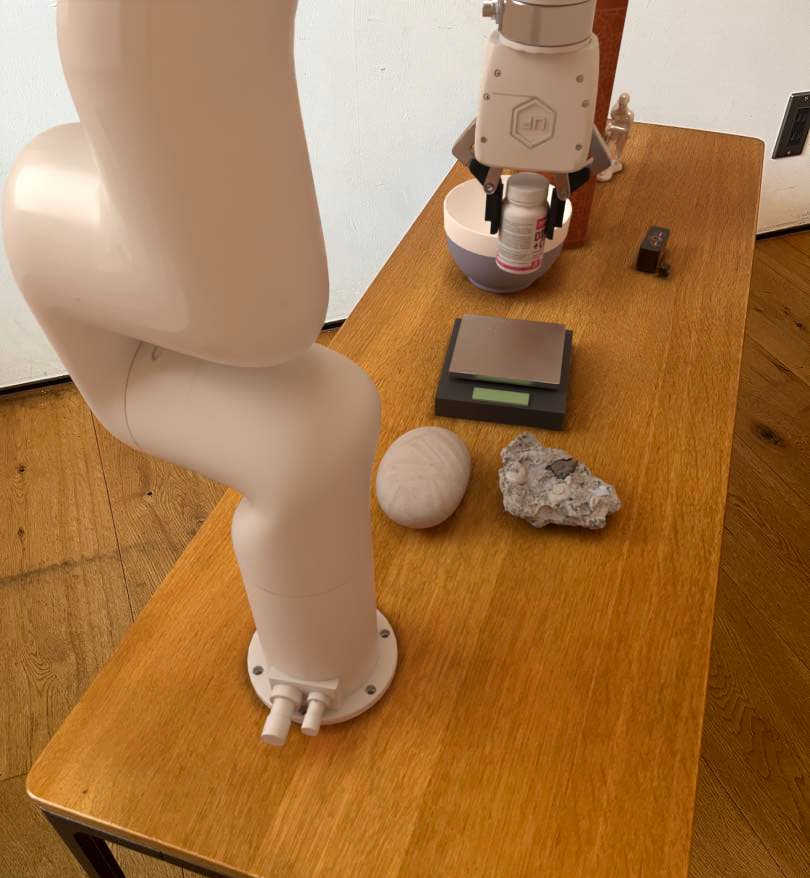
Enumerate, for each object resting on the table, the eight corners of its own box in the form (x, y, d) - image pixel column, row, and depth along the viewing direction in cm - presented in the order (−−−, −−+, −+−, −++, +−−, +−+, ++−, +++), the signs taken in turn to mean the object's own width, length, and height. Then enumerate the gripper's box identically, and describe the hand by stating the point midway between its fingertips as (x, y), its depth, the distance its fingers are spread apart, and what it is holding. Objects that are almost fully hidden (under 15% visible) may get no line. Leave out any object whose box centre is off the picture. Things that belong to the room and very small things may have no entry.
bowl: (547, 318, 98) (557, 247, 91) (425, 295, 102) (426, 225, 94) (571, 253, 108) (583, 184, 100) (460, 235, 111) (463, 167, 104)
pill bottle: (540, 278, 78) (551, 195, 72) (492, 273, 79) (499, 191, 72) (544, 253, 81) (555, 171, 75) (498, 248, 82) (505, 167, 75)
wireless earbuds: (632, 273, 105) (637, 250, 102) (645, 247, 109) (651, 225, 106) (666, 281, 103) (673, 258, 101) (679, 254, 107) (685, 232, 105)
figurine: (628, 164, 125) (645, 82, 115) (614, 190, 119) (631, 106, 110) (599, 159, 126) (613, 78, 117) (584, 185, 120) (598, 101, 111)
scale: (561, 431, 85) (565, 411, 83) (434, 415, 87) (434, 395, 85) (570, 347, 94) (573, 328, 92) (454, 335, 96) (455, 315, 94)
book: (517, 171, 123) (541, -64, 100) (570, 171, 123) (606, -64, 100) (526, 248, 109) (556, -6, 86) (585, 249, 108) (632, -6, 85)
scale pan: (558, 389, 85) (559, 383, 84) (448, 376, 86) (448, 371, 85) (565, 329, 91) (566, 324, 91) (463, 319, 93) (463, 313, 92)
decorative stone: (403, 441, 84) (402, 405, 80) (484, 461, 82) (487, 425, 78) (358, 527, 76) (355, 492, 72) (446, 551, 74) (448, 516, 70)
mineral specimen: (524, 456, 83) (633, 492, 78) (477, 525, 77) (592, 568, 73) (525, 414, 79) (642, 449, 74) (475, 483, 73) (598, 526, 68)
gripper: (435, 28, 62) (431, 242, 76) (654, 40, 60) (608, 258, 74) (449, -3, 67) (443, 204, 81) (653, 8, 65) (611, 219, 79)
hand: (522, 228), depth 77 cm, fingers closed on pill bottle, 4 cm apart
